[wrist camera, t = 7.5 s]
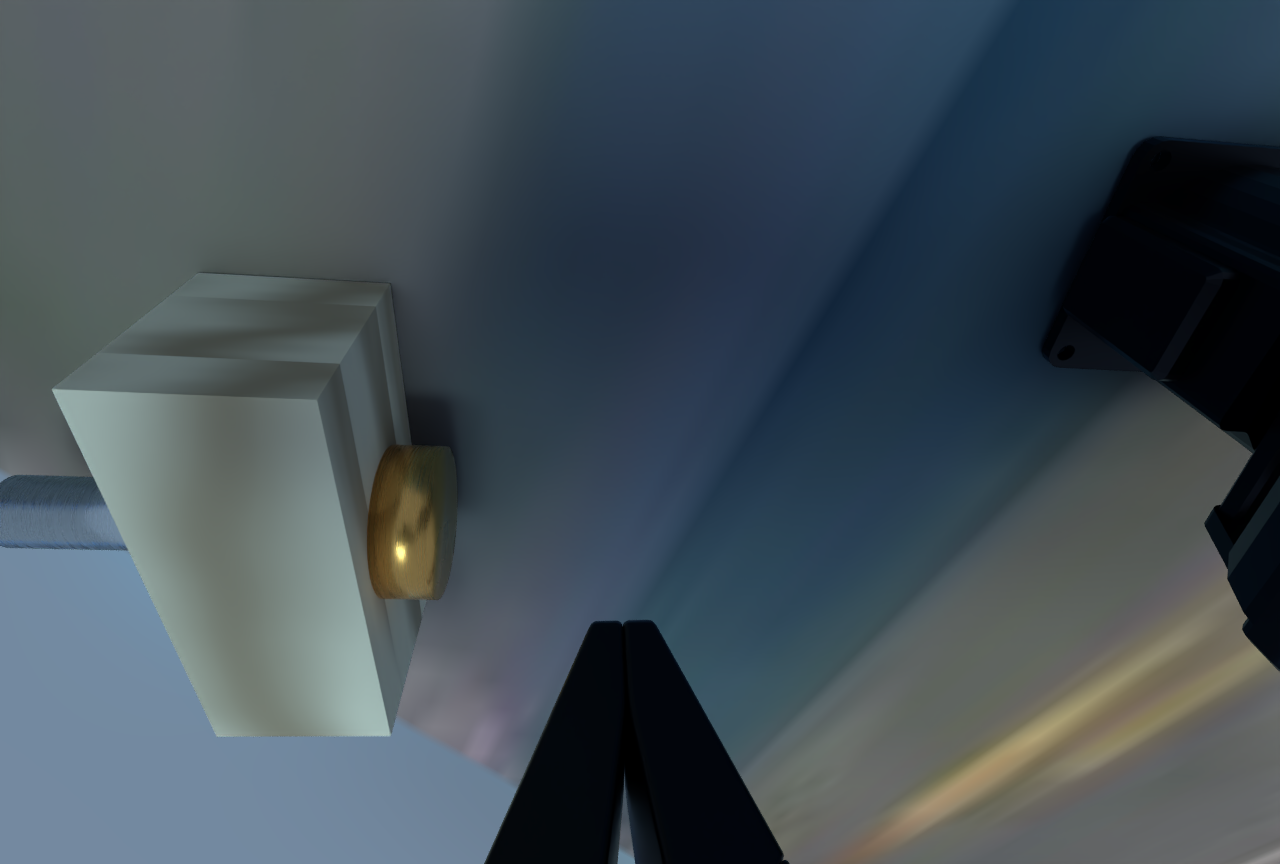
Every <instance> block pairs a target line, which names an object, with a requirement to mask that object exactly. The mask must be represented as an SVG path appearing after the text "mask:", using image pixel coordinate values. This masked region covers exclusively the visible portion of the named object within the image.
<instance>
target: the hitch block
mask: <svg viewBox="0 0 1280 864" xmlns="http://www.w3.org/2000/svg"><path fill="white" fill-rule="evenodd" d="M52 391H53V393H54V395H55V397H56V399H57V402H58V404H59V406H60V408H61V410H62V412H63V414H64V416H65V418H66V421H67V423H68V425H69V427H70V429H71V431H72V433H73V435H74V437H75V439H76V442H77V444H78V446H79V448H80V450H81V452H82V454H83V456H84V458H85V460H86V463H87V465H88V467H89V469H90V471H91V473H92V475H93V477H94V479H95V481H96V484H97V486H98V488H99V490H100V492H101V494H102V496H103V498H104V500H105V503H106V505H107V507H108V509H109V511H110V513H111V515H112V517H113V519H114V521H115V524H116V526H117V528H118V530H119V532H120V534H121V536H122V538H123V540H124V542H125V545H126V547H127V549H128V551H129V553H130V555H131V557H132V559H133V561H134V563H135V565H136V568H137V570H138V572H139V574H140V576H141V578H142V580H143V582H144V584H145V586H146V589H147V591H148V593H149V595H150V597H151V599H152V601H153V603H154V605H155V608H156V610H157V612H158V614H159V616H160V618H161V620H162V622H163V624H164V627H165V628H166V631H167V633H168V635H169V637H170V639H171V641H172V643H173V645H174V648H175V650H176V652H177V654H178V656H179V658H180V660H181V662H182V664H183V666H184V669H185V671H186V673H187V675H188V677H189V679H190V681H191V683H192V685H193V687H194V690H195V692H196V694H197V696H198V698H199V700H200V702H201V704H202V706H203V708H204V711H205V713H206V715H207V717H208V719H209V721H210V723H211V725H212V727H213V730H214V732H215V733H216V736H217V737H224V736H226V737H228V736H229V737H230V736H234V737H235V736H236V737H237V736H391V733H392V730H393V726H394V722H395V718H396V715H397V711H398V707H399V703H400V699H401V696H402V692H403V688H404V684H405V680H406V677H407V673H408V669H409V665H410V661H411V658H412V654H413V650H414V646H415V642H416V639H417V635H418V631H419V627H420V623H421V620H422V616H423V612H424V608H425V604H426V601H427V600H411V599H380V598H378V597H377V595H376V594H375V592H374V590H373V587H372V584H371V580H370V575H369V569H368V560H367V525H368V513H369V504H370V498H371V492H372V487H373V482H374V478H375V474H376V471H377V468H378V465H379V462H380V460H381V458H382V456H383V454H384V452H385V451H386V449H387V448H388V447H389V446H391V445H394V444H397V445H412V443H411V436H410V428H409V420H408V413H407V405H406V398H405V390H404V383H403V375H402V368H401V360H400V352H399V345H398V337H397V330H396V322H395V315H394V307H393V300H392V292H391V285H390V283H374V282H356V281H338V280H320V279H303V278H285V277H267V276H249V275H231V274H214V273H197V274H196V275H195V276H193V277H192V278H191V279H190V280H188V281H187V282H186V283H185V284H183V285H182V286H181V287H180V288H178V289H177V290H176V291H175V292H173V293H172V294H171V295H170V296H168V297H167V298H166V299H165V300H163V301H162V302H161V303H159V304H158V305H157V306H156V307H154V308H153V309H152V310H151V311H149V312H148V313H147V314H146V315H144V316H143V317H142V318H141V319H139V320H138V321H137V322H136V323H134V324H133V325H132V326H131V327H129V328H128V329H127V330H125V331H124V332H123V333H122V334H120V335H119V336H118V337H117V338H115V339H114V340H113V341H112V342H110V343H109V344H108V345H107V346H105V347H104V348H103V349H102V350H100V351H99V352H98V353H97V354H95V355H94V356H93V357H91V358H90V359H89V360H88V361H86V362H85V363H84V364H83V365H81V366H80V367H79V368H78V369H76V370H75V371H74V372H73V373H71V374H70V375H69V376H68V377H66V378H65V379H64V380H63V381H61V382H60V383H59V384H58V385H56V386H55V387H54V388H52Z"/></svg>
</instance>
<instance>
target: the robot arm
mask: <svg viewBox="0 0 1280 864" xmlns="http://www.w3.org/2000/svg"><path fill="white" fill-rule="evenodd" d="M1159 152H1161V155H1160V158H1159V160H1158V161H1157V162H1156V163H1155V164H1154V165H1153V166H1151V167H1150V164H1151V160H1152V159H1153V158H1154V156H1155V155H1156V154H1158V153H1159ZM1065 346H1067V347H1066V349H1065V350H1064V351H1063V352H1061V353H1059V354H1058V352H1059V351H1060V349H1061V348H1063V347H1065ZM1042 354H1043V357H1044V358H1045V359H1046V360H1047V361H1048V362H1050V363H1051V364H1052V365H1053V366H1055V367H1059V368H1080V369H1100V370H1120V371H1140V372H1144V373H1145V374H1146V375H1148V376H1149V377H1150V378H1152V379H1154V380H1156V381H1158V382H1159V383H1160V384H1162V385H1163V386H1164V387H1166V388H1167V389H1168V390H1170V391H1171V392H1172V393H1174V394H1175V395H1176V396H1177V397H1179V398H1180V399H1181V400H1183V401H1184V402H1185V403H1187V404H1188V405H1189V406H1191V407H1192V408H1193V409H1195V410H1196V411H1197V412H1199V413H1200V414H1201V415H1203V416H1204V417H1205V418H1207V419H1208V420H1209V421H1211V422H1212V423H1213V424H1214V425H1216V426H1217V427H1218V428H1220V429H1221V430H1223V431H1224V432H1225V433H1227V434H1228V435H1229V436H1231V437H1232V438H1233V439H1235V440H1236V441H1237V442H1239V443H1240V444H1241V445H1243V446H1244V447H1245V448H1247V449H1248V450H1249V451H1250V452H1252V453H1253V454H1252V455H1251V457H1250V459H1249V460H1248V462H1247V464H1246V465H1245V467H1244V468H1243V470H1242V472H1241V473H1240V475H1239V477H1238V478H1237V480H1236V481H1235V483H1234V485H1233V486H1232V488H1231V490H1230V491H1229V493H1228V494H1227V496H1226V498H1225V499H1224V501H1223V503H1222V504H1221V505H1217V506H1215V507H1214V508H1213V510H1212V511H1211V513H1210V515H1209V516H1208V518H1207V520H1206V521H1205V523H1204V524H1205V527H1206V529H1207V531H1208V533H1209V535H1210V537H1211V538H1212V540H1213V542H1214V544H1215V546H1216V548H1217V550H1218V552H1219V554H1220V556H1221V557H1222V559H1223V561H1224V563H1225V565H1226V567H1227V569H1228V578H1227V579H1228V581H1229V583H1230V585H1231V587H1232V590H1233V592H1234V594H1235V596H1236V598H1237V600H1238V602H1239V604H1240V606H1241V608H1242V610H1243V612H1244V614H1245V615H1246V616H1247V617H1248V618H1247V620H1246V621H1245V622H1244V624H1243V628H1242V630H1243V632H1244V633H1245V635H1246V637H1247V638H1248V639H1249V640H1250V641H1251V643H1252V644H1253V645H1254V646H1255V647H1256V648H1257V649H1258V650H1259V651H1260V652H1261V653H1262V654H1263V655H1264V656H1265V657H1266V658H1267V659H1268V660H1269V661H1270V662H1271V664H1272V665H1273V666H1274V667H1275V668H1276V669H1277V670H1278V671H1280V147H1277V146H1265V145H1253V144H1241V143H1229V142H1217V141H1205V140H1193V139H1181V138H1169V137H1155V138H1151V139H1149V140H1147V141H1145V142H1144V143H1143V144H1142V145H1140V146H1139V147H1138V148H1137V150H1136V151H1135V153H1134V154H1133V156H1132V158H1131V160H1130V162H1129V164H1128V166H1127V169H1126V171H1125V173H1124V175H1123V177H1122V179H1121V181H1120V183H1119V186H1118V188H1117V190H1116V192H1115V194H1114V196H1113V198H1112V200H1111V203H1110V205H1109V207H1108V209H1107V211H1106V213H1105V215H1104V218H1103V220H1102V222H1101V224H1100V226H1099V228H1098V230H1097V232H1096V235H1095V237H1094V239H1093V241H1092V243H1091V245H1090V247H1089V249H1088V252H1087V254H1086V256H1085V258H1084V260H1083V262H1082V264H1081V266H1080V269H1079V271H1078V273H1077V275H1076V277H1075V279H1074V281H1073V284H1072V286H1071V288H1070V290H1069V292H1068V294H1067V296H1066V298H1065V301H1064V303H1063V305H1062V307H1061V309H1060V311H1059V313H1058V316H1057V318H1056V320H1055V322H1054V324H1053V326H1052V328H1051V330H1050V333H1049V335H1048V337H1047V339H1046V341H1045V343H1044V345H1043V349H1042ZM624 774H625V790H626V799H627V807H628V815H629V822H630V829H631V836H632V843H633V850H634V857H635V864H789V862H788V861H787V860H783V857H784V854H783V852H782V850H781V848H780V846H779V845H778V843H777V841H776V839H775V837H774V836H773V834H772V832H771V830H770V828H769V827H768V825H767V823H766V821H765V819H764V818H763V816H762V814H761V812H760V810H759V809H758V807H757V805H756V803H755V801H754V800H753V798H752V796H751V794H750V792H749V791H748V789H747V787H746V785H745V784H744V782H743V780H742V778H741V776H740V775H739V773H738V771H737V769H736V767H735V766H734V764H733V762H732V760H731V758H730V757H729V755H728V753H727V751H726V749H725V748H724V746H723V744H722V742H721V740H720V739H719V737H718V735H717V733H716V732H715V730H714V728H713V726H712V724H711V723H710V721H709V719H708V717H707V715H706V714H705V712H704V710H703V708H702V706H701V705H700V703H699V701H698V699H697V697H696V696H695V694H694V692H693V690H692V688H691V687H690V685H689V683H688V681H687V680H686V678H685V676H684V674H683V672H682V671H681V669H680V667H679V665H678V663H677V662H676V660H675V658H674V656H673V654H672V653H671V651H670V649H669V647H668V645H667V644H666V642H665V640H664V638H663V636H662V635H661V633H660V631H659V629H658V628H657V626H656V624H655V623H654V622H653V621H651V620H628V621H626V622H624V624H623V626H622V624H621V622H619V621H595V622H593V623H592V624H591V625H590V627H589V629H588V631H587V634H586V636H585V638H584V640H583V643H582V645H581V647H580V649H579V652H578V654H577V656H576V658H575V661H574V663H573V665H572V667H571V670H570V672H569V674H568V676H567V679H566V681H565V683H564V685H563V688H562V690H561V692H560V694H559V697H558V699H557V701H556V703H555V706H554V708H553V710H552V712H551V715H550V717H549V719H548V721H547V724H546V726H545V728H544V730H543V733H542V735H541V737H540V739H539V742H538V744H537V746H536V748H535V751H534V753H533V755H532V757H531V760H530V762H529V764H528V766H527V769H526V771H525V773H524V775H523V778H522V780H521V782H520V784H519V787H518V789H517V791H516V793H515V796H514V798H513V800H512V802H511V805H510V807H509V809H508V811H507V814H506V816H505V818H504V820H503V823H502V825H501V827H500V830H499V832H498V834H497V836H496V839H495V841H494V843H493V845H492V847H491V850H490V852H489V854H488V856H487V859H486V861H485V863H484V864H617V862H618V851H619V840H620V829H621V818H622V807H623V791H624ZM782 860H783V861H782Z"/></svg>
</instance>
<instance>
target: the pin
mask: <svg viewBox="0 0 1280 864" xmlns="http://www.w3.org/2000/svg"><path fill="white" fill-rule="evenodd" d="M456 525H457V475H456V466H455V461H454V456H453V453H452V451H451V449H450V448H449V447H448V446H426V445H397V444H394V445H391V446H389V447H388V448H387V449H386V451H385V452H384V454H383V456H382V458H381V460H380V462H379V465H378V468H377V471H376V474H375V478H374V482H373V487H372V492H371V498H370V504H369V513H368V525H367V560H368V569H369V575H370V580H371V584H372V587H373V590H374V592H375V594H376V595H377V597H378V598H380V599H411V600H439V599H440V598H441V597H442V595H443V593H444V591H445V589H446V586H447V583H448V579H449V575H450V570H451V565H452V560H453V553H454V546H455V537H456ZM0 546H2V547H6V548H33V549H80V550H83V549H84V550H128V549H127V547H126V545H125V542H124V540H123V538H122V536H121V534H120V532H119V530H118V528H117V526H116V524H115V521H114V519H113V517H112V515H111V513H110V511H109V509H108V507H107V505H106V503H105V500H104V498H103V496H102V494H101V492H100V490H99V488H98V486H97V484H96V481H95V479H94V477H78V476H45V475H14V476H11V477H8V478H7V479H5V480H3V481H2V482H1V483H0Z"/></svg>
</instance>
